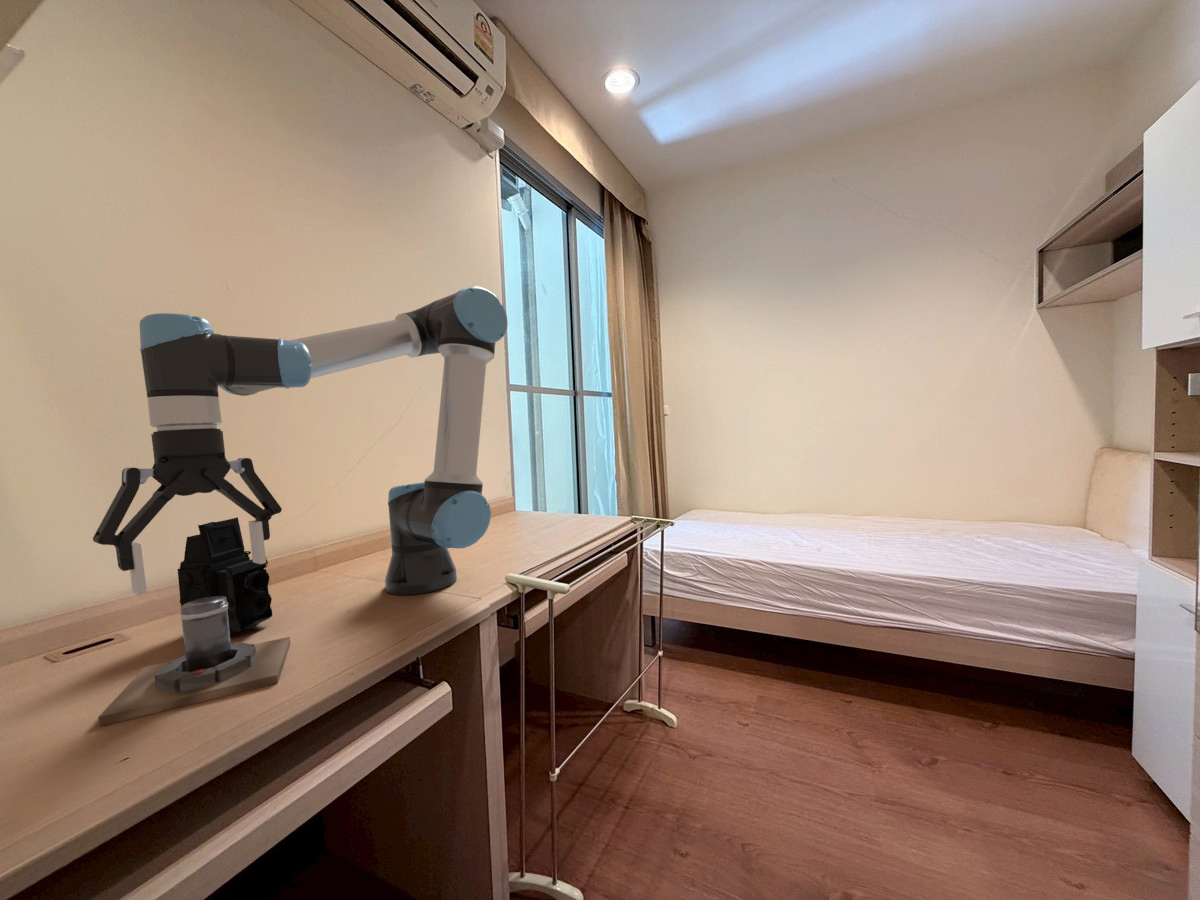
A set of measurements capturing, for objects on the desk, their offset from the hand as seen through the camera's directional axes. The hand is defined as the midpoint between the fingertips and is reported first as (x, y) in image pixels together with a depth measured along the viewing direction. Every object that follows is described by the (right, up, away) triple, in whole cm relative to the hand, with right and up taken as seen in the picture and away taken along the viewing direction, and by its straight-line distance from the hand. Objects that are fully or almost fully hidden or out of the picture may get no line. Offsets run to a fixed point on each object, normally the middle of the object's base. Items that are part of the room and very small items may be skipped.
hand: (204, 576), depth 66 cm
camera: (-10, -15, +18) cm, 25 cm away
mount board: (0, -15, 0) cm, 15 cm away
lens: (0, -14, 0) cm, 14 cm away
